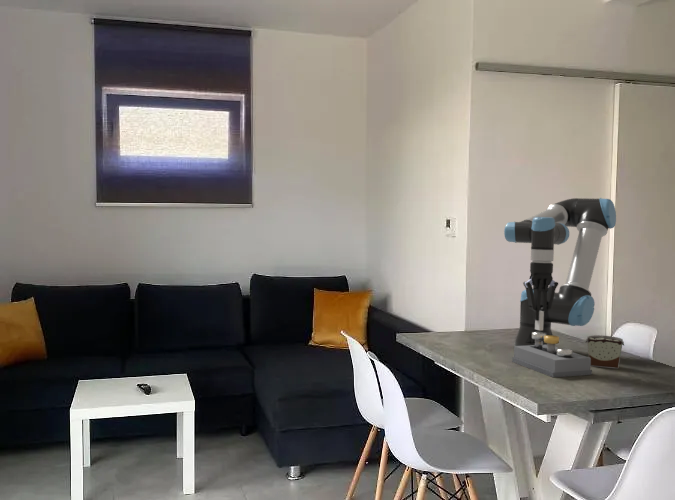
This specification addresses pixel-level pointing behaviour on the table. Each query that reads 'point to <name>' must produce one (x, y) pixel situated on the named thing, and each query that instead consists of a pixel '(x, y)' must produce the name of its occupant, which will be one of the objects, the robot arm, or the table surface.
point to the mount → (551, 362)
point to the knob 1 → (538, 339)
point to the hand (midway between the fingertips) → (538, 329)
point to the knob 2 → (564, 352)
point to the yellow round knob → (551, 343)
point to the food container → (604, 350)
